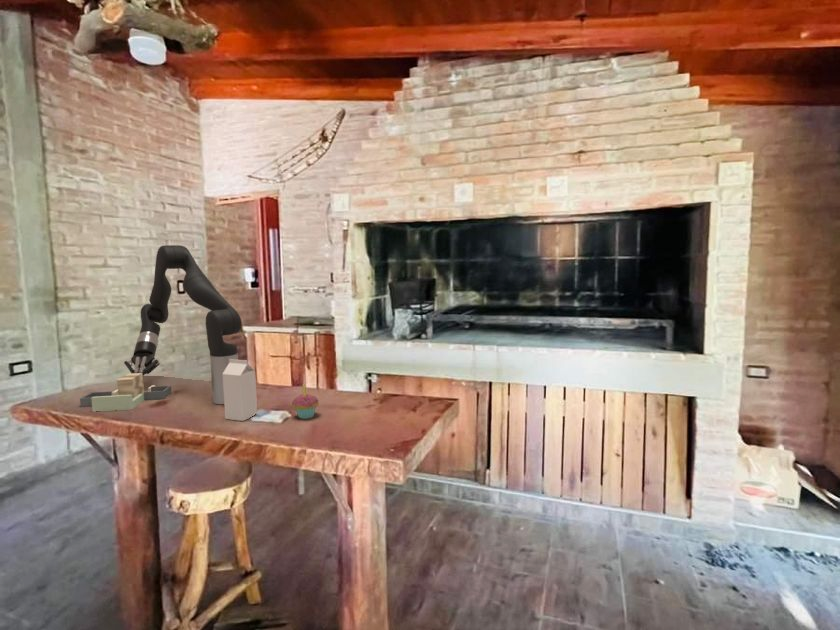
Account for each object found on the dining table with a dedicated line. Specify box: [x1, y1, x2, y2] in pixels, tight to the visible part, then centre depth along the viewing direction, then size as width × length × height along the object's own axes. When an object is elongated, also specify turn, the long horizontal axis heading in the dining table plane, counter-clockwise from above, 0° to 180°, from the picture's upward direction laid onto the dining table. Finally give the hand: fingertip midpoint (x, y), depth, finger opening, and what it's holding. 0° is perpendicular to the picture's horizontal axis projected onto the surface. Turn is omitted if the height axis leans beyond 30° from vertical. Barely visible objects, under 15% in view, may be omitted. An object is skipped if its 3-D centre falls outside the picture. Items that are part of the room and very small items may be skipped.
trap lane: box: [79, 384, 172, 413], centre depth 182 cm, size 23×26×5 cm
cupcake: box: [291, 381, 319, 420], centre depth 162 cm, size 9×8×12 cm
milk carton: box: [223, 359, 258, 422], centre depth 161 cm, size 7×7×19 cm
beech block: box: [116, 372, 145, 399], centre depth 187 cm, size 10×5×8 cm, turn 9°
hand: (137, 382), depth 192 cm, fingers closed
